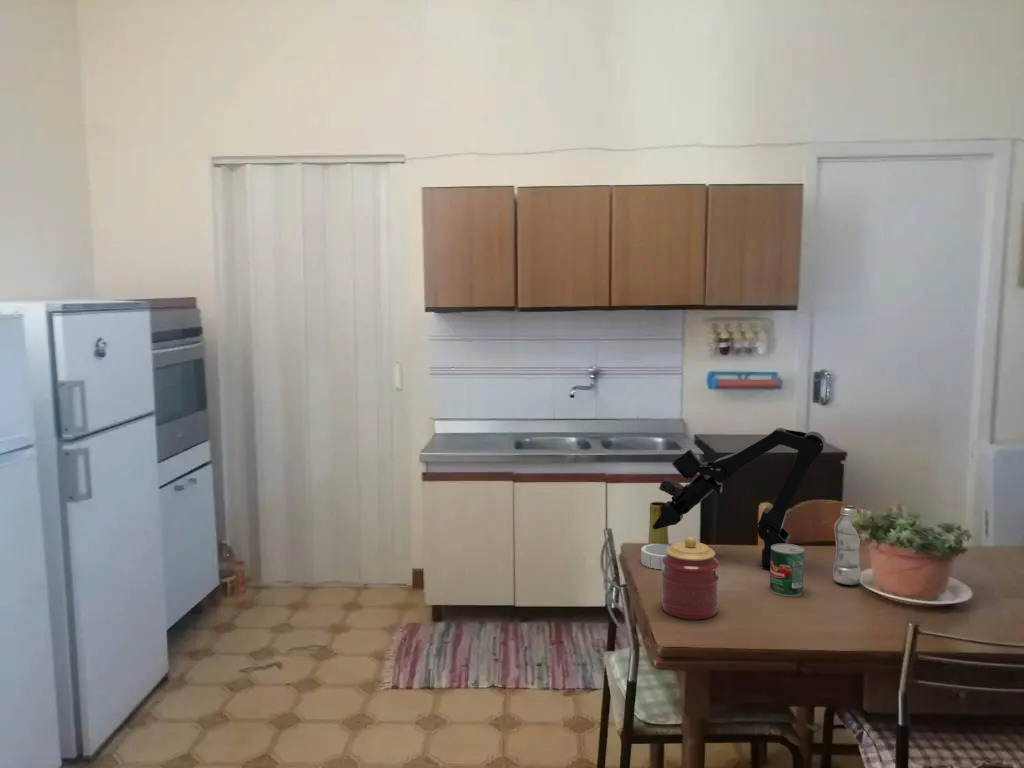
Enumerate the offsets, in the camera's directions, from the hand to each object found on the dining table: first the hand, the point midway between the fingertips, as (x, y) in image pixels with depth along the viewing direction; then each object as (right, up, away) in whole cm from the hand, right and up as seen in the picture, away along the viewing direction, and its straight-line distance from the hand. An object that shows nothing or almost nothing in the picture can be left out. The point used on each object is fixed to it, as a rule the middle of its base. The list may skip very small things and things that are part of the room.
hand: (657, 524), depth 223 cm
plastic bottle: (+43, -11, -27) cm, 52 cm away
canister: (-1, -13, -43) cm, 44 cm away
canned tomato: (+26, -11, -31) cm, 42 cm away
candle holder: (-1, -9, -10) cm, 14 cm away
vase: (0, -8, +1) cm, 8 cm away
